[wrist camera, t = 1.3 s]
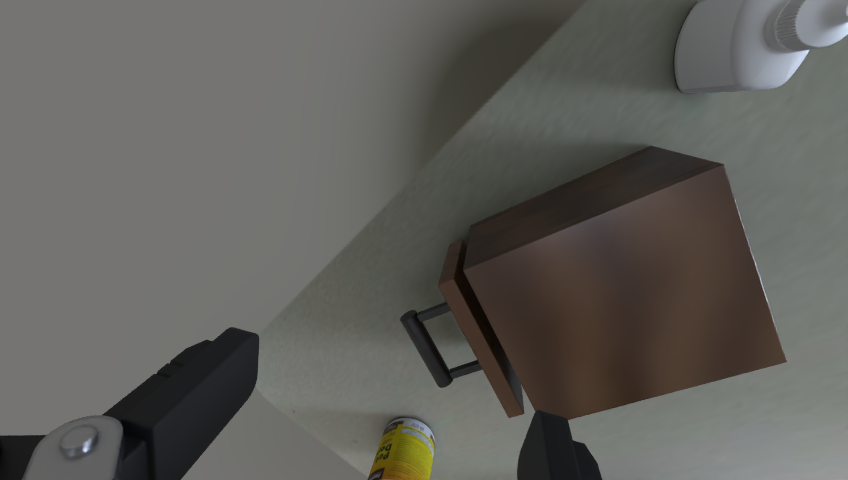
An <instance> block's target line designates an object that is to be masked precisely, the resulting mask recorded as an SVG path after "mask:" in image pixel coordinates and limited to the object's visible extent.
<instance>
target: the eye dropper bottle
mask: <svg viewBox="0 0 848 480" xmlns="http://www.w3.org/2000/svg"><path fill="white" fill-rule="evenodd" d="M847 34H848V0H702V1H700V2H699V3H697V4H696V5H695V6H694V7H693V8H692V10H691V11H690V13H689V14H688V16H687V18H686V20H685V22H684V24H683V26H682V29H681V31H680V34H679V37H678V40H677V44H676V49H675V58H674V68H675V77H676V81H677V85H678V87H679V89H680V90H681V91H682V92H683V93H687V94H698V93H719V92H736V91H752V90H764V89H772V88H776V87H779V86H781V85H782V84H784V83H785V82H786V81H787V80H788V79H789V78H790V77H791V76H792V75H793V74H794V72H795V71H796V70H797V68H798V67H799V66H800V64H801V63H802V61H803V60H804V58H805V57H806V55H807V53H808V52H809V50H811V49H817V48H822V47H826V46H830V45H831V44H834V43H836V42H838V41H840V40H841V39H842V38H844V36H846V35H847Z"/></svg>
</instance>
